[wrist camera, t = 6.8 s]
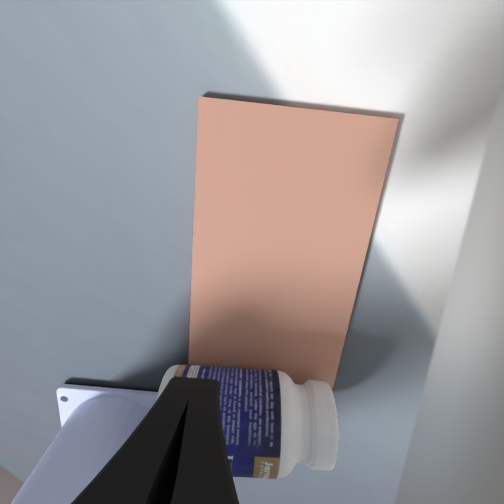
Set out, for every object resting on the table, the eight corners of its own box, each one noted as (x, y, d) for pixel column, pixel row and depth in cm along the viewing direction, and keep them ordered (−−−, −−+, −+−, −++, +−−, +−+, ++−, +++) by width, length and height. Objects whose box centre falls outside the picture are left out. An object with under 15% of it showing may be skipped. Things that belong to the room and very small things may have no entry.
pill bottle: (138, 484, 15) (347, 493, 15) (159, 358, 17) (337, 366, 17) (165, 463, 20) (319, 470, 20) (178, 369, 22) (315, 375, 23)
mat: (329, 393, 22) (330, 397, 22) (188, 380, 22) (187, 385, 21) (395, 119, 16) (399, 118, 15) (200, 97, 16) (198, 96, 15)
